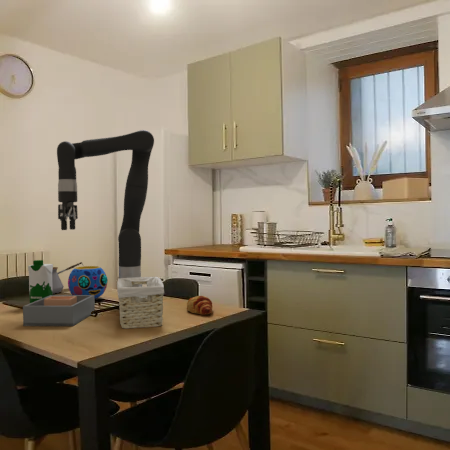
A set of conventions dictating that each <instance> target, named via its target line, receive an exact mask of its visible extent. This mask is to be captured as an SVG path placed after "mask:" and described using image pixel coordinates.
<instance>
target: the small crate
mask: <svg viewBox="0 0 450 450" xmlns="http://www.w3.org/2000/svg"><path fill="white" fill-rule="evenodd" d="M75 303H77V296H51V297H48V298H46V299H44V306H71V305H73V304H75Z"/></svg>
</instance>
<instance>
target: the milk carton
mask: <svg viewBox="0 0 450 450" xmlns="http://www.w3.org/2000/svg"><path fill="white" fill-rule="evenodd" d="M53 267H54V264H53V263H44V259H43V260H42V259H35V260H32V264H30V265H27V271H28V281H29V282H28V285H29V286H28V289H29V290H28V292H29V299H28V300H29V304H30V303H32V302H35V301H37V300H40V299H42V298H45V297H47V296H50V295H54V294H53V291H52V270H53Z"/></svg>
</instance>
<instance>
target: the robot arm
mask: <svg viewBox="0 0 450 450" xmlns="http://www.w3.org/2000/svg"><path fill="white" fill-rule="evenodd" d="M154 145H155V138H154V136H153V134H152V133H151V132H150V131H148V130H146V129H140V130H137V131H134V132H130V133H127V134H123V135H117V136H110V137H103V138H102V137H101V138H94V139H93V138H92V139H86V140H82V141H81V142H75V143H71V142H69V141H66V140H65V141H61V142H60V143H59V144H58V145H57V148H56V157H57V165H58V166H57V167H58V171H57V172H58V173H57V174H58V183H57V197H58V198H57V200H58V202H59V203H60V204H58V205H57V220H59V221H60V229H61V231H67V230H68V219H69V230H76V220H77V219H78V218H79V217H78V215H79V213H78V205H77V204H75V203H77V202H78V182H77V181H78V180H77V168H76V165H75V164H76V162H75V160H78V159H79V160H80V159H83V158H91V157H98V156H99V157H100V156H105V155H109V154H113V153H117V152H122V151H123V152H124V151H132V154H131V163H130V168H129V171H128V175H127V176H126V182H125V188H124V196H123V197H124V198H123V199H124V200H123V215H122V217H123V218H122V222H121V226H120V230H119V233H118V238H117V241H118V279H119V278H137V277H142V271H141V270H142V269H141V268H142V267H141V266H142V263H141V262H142V237H141V234H140V226H141V225H140V223H141V218H142V214H143V210H144V207H145V204H146V199H147V193H148V185H149V163H150V159H151V156H152V155H151V154H152V151H153V148H154ZM132 287H143V284H136V285H135V284H134V285H132ZM118 304H119V303H118ZM119 305H120V304H119ZM119 305H118V306H119Z"/></svg>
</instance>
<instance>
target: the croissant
mask: <svg viewBox="0 0 450 450" xmlns="http://www.w3.org/2000/svg"><path fill="white" fill-rule="evenodd" d="M186 311H187V312H190V313H191V314H196V315H197V314H198V315H202V316H205V315H206V316H207V315H210V314H211V313H212V312H213V302H212V300H211V299H210V298H209V297H208V296H205V295H196V296H194V297H190V298H189V299H188V300H187V303H186Z"/></svg>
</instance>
